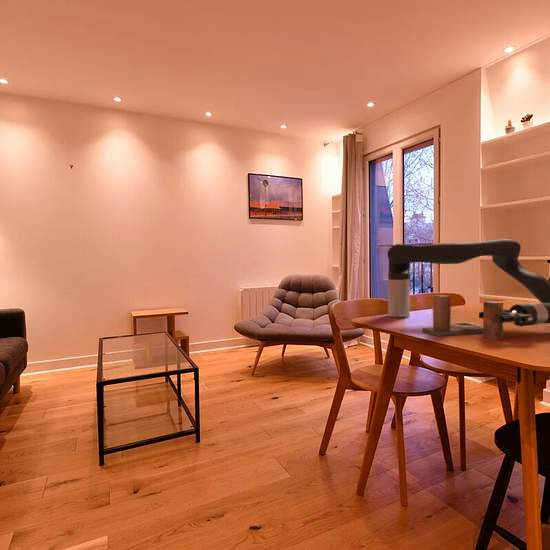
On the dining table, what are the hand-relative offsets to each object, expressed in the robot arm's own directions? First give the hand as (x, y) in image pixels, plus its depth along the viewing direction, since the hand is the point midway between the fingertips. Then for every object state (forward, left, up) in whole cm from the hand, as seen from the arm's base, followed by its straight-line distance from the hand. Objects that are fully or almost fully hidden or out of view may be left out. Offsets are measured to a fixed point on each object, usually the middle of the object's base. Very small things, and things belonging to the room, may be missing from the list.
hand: (489, 317), depth 123 cm
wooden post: (0, +1, -7) cm, 7 cm away
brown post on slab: (-9, -8, -7) cm, 14 cm away
